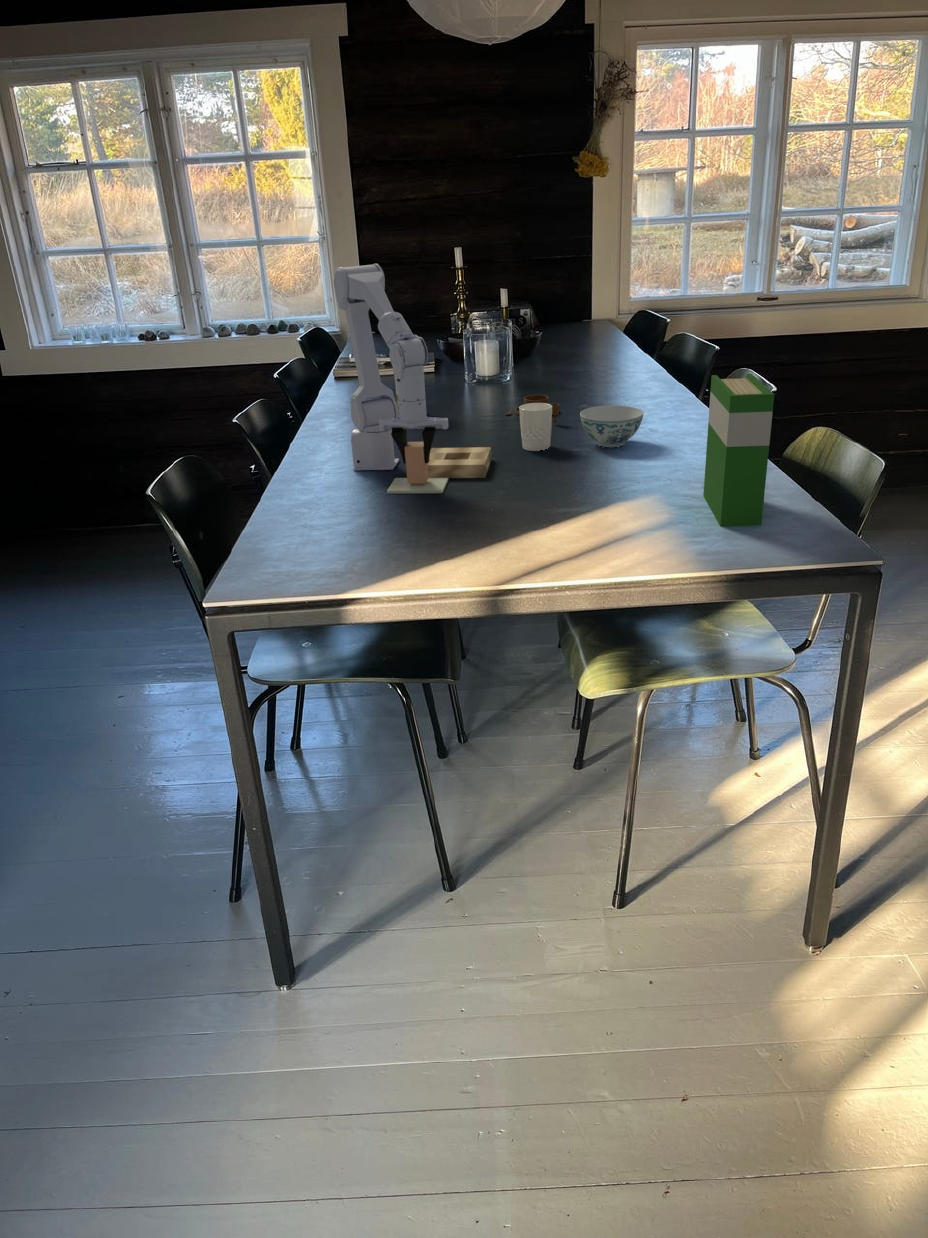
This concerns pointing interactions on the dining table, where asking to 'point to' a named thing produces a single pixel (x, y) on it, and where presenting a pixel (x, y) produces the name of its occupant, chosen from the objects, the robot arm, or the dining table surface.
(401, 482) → the mat
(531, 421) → the white cup
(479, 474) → the pocket block
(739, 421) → the hardback book
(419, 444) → the terracotta block
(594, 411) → the chinaware
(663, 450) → the dining table surface
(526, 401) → the place setting
